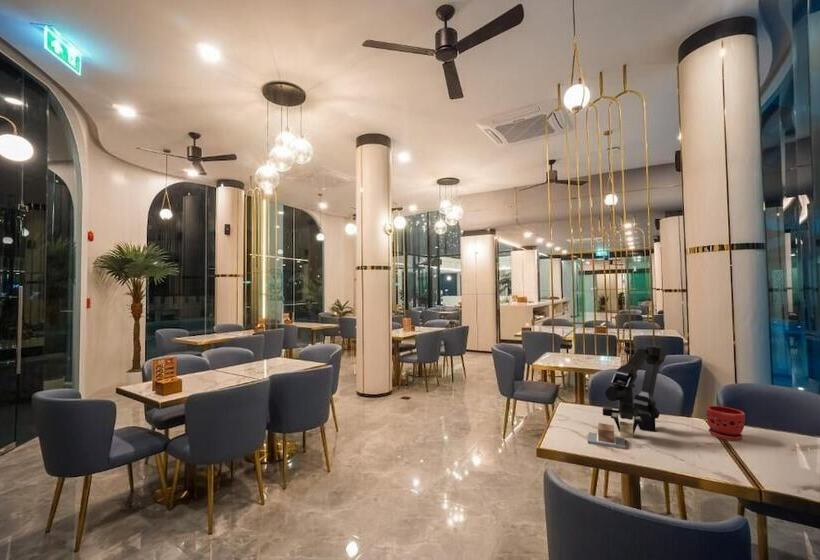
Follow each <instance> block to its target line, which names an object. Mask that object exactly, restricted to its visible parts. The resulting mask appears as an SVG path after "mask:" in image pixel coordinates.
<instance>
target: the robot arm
mask: <svg viewBox="0 0 820 560" xmlns="http://www.w3.org/2000/svg"><path fill="white" fill-rule="evenodd" d="M666 356H667V350H666V349H665V348H664V347H663V346H656V345H639V346H637V350H636V351H635V352H634V354H633V355H632V356H631V358H630V359H629V360H628V362H627V363H625V364H624V365H621V366H620V367H619V368H618V369H616V370H615V372H614V375H613V377H612V380H611V382H610V384H609V386H608V388H606V390H605V391H604V393H605V394H604V395H605V397H606V399H607V400H608V401H610V402H615V401H618V409H613V407H612V406H606V405H605V406H603V407H602V416H605V417H610V418H611V419H613V420H614V422H615V424H616V428H617V431H618V432H619V433H620V420H619V418H621V419H622V420H631V421H632V420H633V421H632V424H633V435H634V434H635V431H636V429H637V427H638V429H639V430H640V431H641V430H642V431H648V432H657V430H656V419H659V417H660V413H661V412H660V411H659V410H658V408H657V407H656V405H657V404H656V400H655V398H654V392H655V388H656V382H657V377H658V373H659V372H658V371H659V367H660V365H662V364H663V363H664V362H665V360H666ZM645 362H646V365H645V372H644V375H643V380H642V385H641V389H640V392H639V393H638V394H635V395H634V391H633V390H634V388H635V387H636V385H635V384H634V383H635V382H636V381H637V380H636V379H637V378H638V371H639V369H640V368H641V367H642V366H643V364H644V363H645Z"/></svg>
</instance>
